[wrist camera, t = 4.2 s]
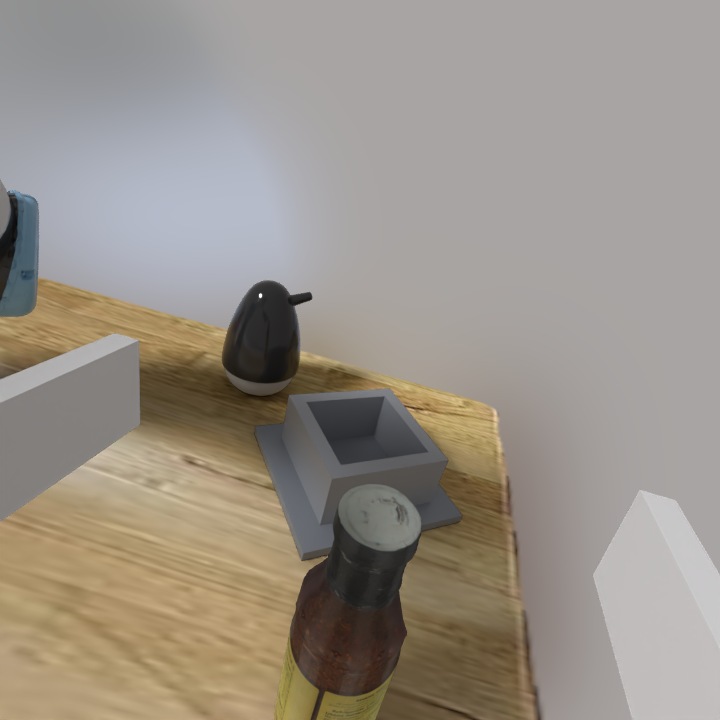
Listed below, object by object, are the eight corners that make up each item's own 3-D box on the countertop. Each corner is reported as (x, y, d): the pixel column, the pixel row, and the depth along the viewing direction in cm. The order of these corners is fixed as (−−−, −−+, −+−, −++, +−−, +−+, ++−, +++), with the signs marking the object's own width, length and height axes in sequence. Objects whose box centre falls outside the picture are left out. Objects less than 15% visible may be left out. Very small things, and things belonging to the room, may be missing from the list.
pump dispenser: (300, 408, 60) (320, 303, 53) (218, 405, 57) (229, 293, 50) (291, 367, 69) (308, 273, 62) (220, 363, 65) (228, 262, 58)
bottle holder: (301, 560, 40) (315, 505, 37) (254, 432, 54) (261, 383, 51) (459, 521, 49) (482, 473, 45) (384, 419, 62) (397, 376, 59)
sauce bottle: (377, 707, 32) (473, 506, 22) (337, 814, 26) (441, 610, 17) (298, 655, 33) (356, 449, 24) (245, 746, 28) (294, 527, 19)
